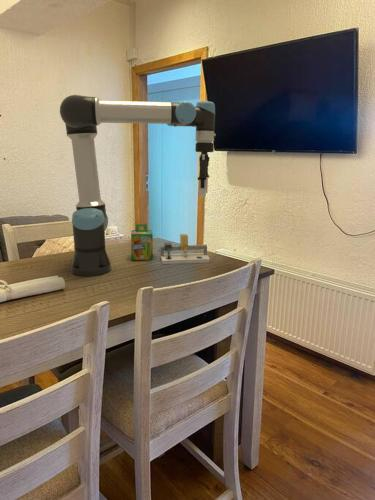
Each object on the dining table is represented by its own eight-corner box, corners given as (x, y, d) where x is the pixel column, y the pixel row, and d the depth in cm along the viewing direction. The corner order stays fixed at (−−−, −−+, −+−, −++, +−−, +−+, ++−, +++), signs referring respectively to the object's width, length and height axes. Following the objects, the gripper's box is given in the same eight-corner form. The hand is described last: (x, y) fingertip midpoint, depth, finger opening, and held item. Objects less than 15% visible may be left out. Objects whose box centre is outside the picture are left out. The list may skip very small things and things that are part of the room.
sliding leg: (182, 257, 161) (182, 238, 159) (180, 252, 168) (180, 234, 166) (189, 257, 161) (189, 237, 159) (186, 252, 168) (186, 234, 166)
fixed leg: (165, 258, 160) (165, 246, 159) (164, 254, 167) (163, 242, 166) (172, 258, 160) (172, 246, 159) (170, 253, 167) (170, 242, 166)
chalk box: (131, 261, 162) (130, 226, 159) (131, 255, 171) (130, 222, 167) (153, 260, 164) (152, 226, 160) (152, 254, 172) (151, 222, 169)
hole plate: (162, 264, 158) (162, 251, 156) (160, 257, 167) (160, 245, 166) (209, 262, 160) (210, 249, 159) (205, 256, 170) (205, 244, 169)
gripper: (212, 141, 144) (211, 198, 149) (214, 143, 168) (213, 191, 173) (193, 141, 144) (191, 197, 150) (197, 142, 168) (196, 191, 174)
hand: (203, 194), depth 161 cm, fingers open, 13 cm apart
